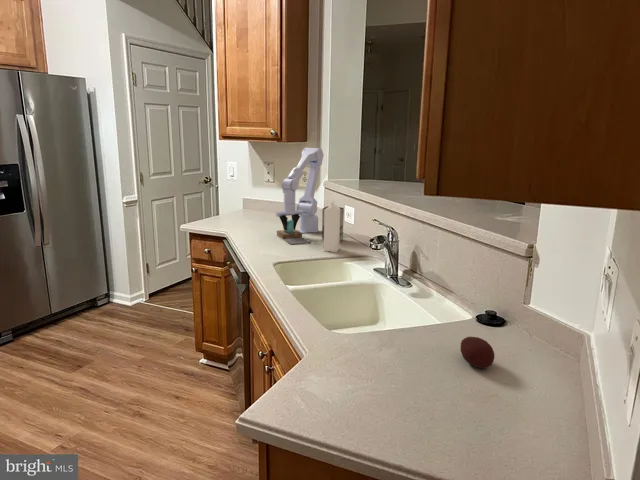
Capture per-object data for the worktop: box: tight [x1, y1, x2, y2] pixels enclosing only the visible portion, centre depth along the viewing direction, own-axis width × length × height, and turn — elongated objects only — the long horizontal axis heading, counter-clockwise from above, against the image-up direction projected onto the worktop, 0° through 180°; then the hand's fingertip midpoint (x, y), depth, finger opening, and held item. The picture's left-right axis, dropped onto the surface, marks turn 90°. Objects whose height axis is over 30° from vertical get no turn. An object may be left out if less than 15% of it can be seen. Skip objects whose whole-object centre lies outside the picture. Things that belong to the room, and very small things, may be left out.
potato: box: [459, 336, 495, 369], centre depth 109 cm, size 7×10×6 cm
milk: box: [323, 201, 340, 253], centre depth 207 cm, size 6×6×22 cm
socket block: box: [276, 229, 303, 241], centre depth 233 cm, size 10×10×2 cm
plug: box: [285, 219, 294, 233], centre depth 233 cm, size 4×4×8 cm
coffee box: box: [321, 206, 345, 242], centre depth 227 cm, size 9×6×16 cm
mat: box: [283, 237, 311, 246], centre depth 224 cm, size 10×10×1 cm
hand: (289, 229), depth 233 cm, fingers closed on plug, 4 cm apart
